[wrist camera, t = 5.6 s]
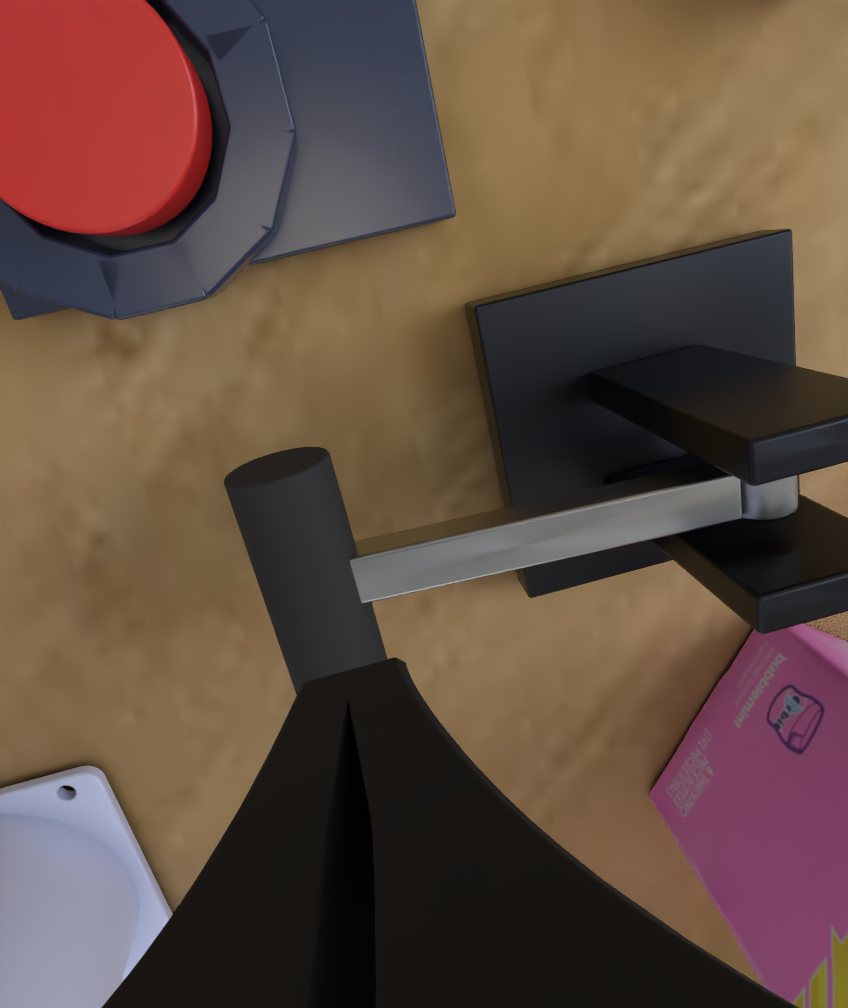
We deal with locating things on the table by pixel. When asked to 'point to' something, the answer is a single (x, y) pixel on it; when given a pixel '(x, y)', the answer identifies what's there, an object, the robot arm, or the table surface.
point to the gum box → (773, 809)
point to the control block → (262, 158)
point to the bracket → (672, 414)
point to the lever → (443, 544)
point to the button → (98, 116)
